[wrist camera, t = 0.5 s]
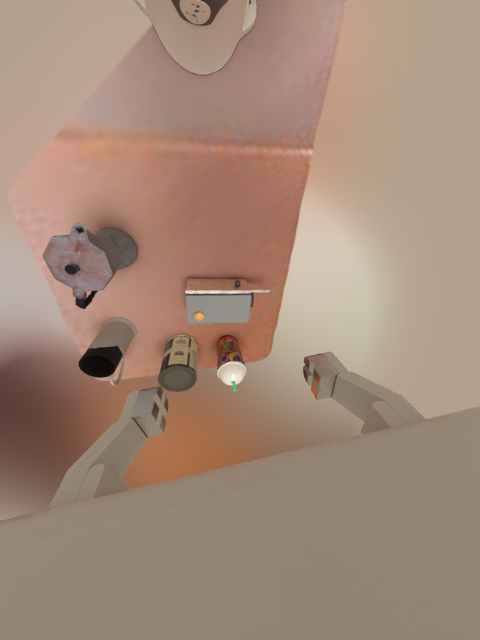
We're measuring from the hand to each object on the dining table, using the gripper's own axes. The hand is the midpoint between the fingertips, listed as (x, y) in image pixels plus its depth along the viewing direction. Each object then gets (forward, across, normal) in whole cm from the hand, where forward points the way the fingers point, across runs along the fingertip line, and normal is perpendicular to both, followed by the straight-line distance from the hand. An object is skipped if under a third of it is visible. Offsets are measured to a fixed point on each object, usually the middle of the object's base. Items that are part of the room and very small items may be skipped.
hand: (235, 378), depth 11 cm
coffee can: (+45, +16, +32) cm, 57 cm away
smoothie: (+45, +1, +33) cm, 56 cm away
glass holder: (+45, +32, +24) cm, 60 cm away
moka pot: (+44, +22, -1) cm, 50 cm away
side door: (+44, -2, +10) cm, 45 cm away
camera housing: (+44, +1, +15) cm, 47 cm away
